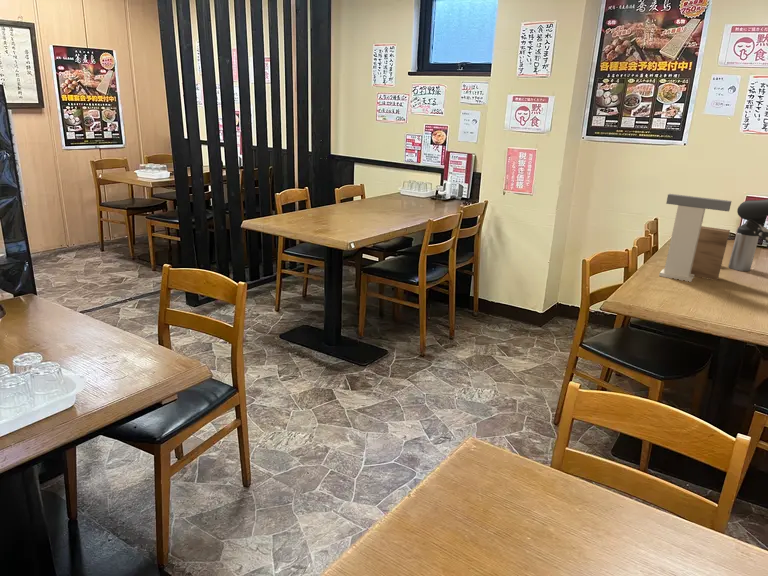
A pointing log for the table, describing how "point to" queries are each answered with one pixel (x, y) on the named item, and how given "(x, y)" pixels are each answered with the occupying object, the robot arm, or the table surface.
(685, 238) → the tall stand
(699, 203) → the grey block
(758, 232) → the robot arm
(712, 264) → the brown wooden block
